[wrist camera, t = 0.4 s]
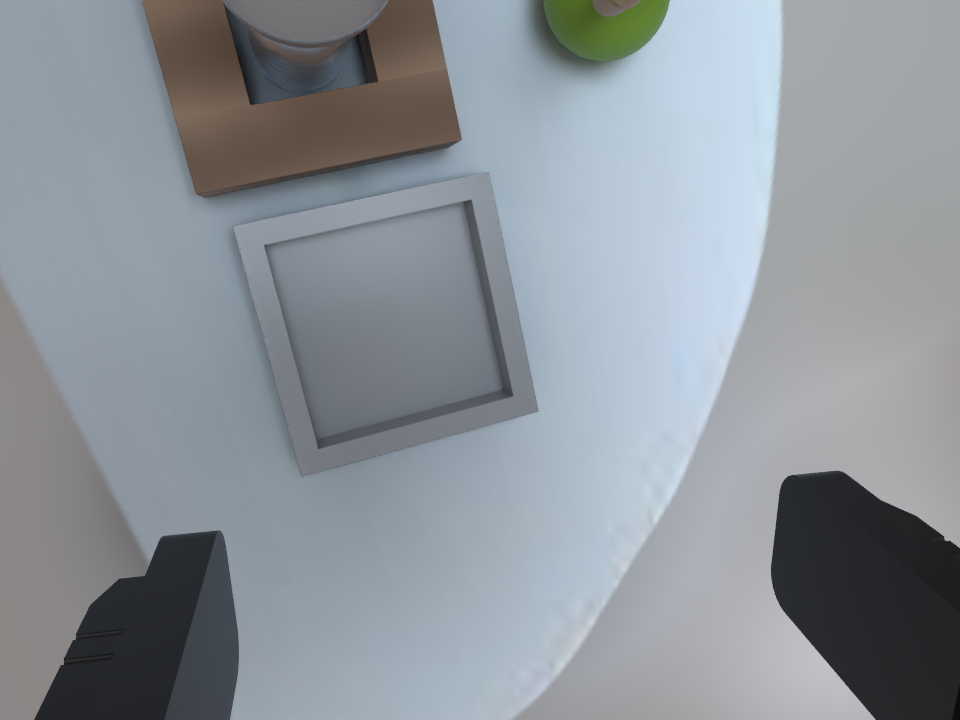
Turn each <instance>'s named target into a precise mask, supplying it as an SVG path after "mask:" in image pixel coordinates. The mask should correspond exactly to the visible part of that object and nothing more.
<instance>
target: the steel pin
mask: <svg viewBox="0 0 960 720" xmlns="http://www.w3.org/2000/svg"><path fill="white" fill-rule="evenodd" d="M221 1H222V2H223V3H224V5H225V6H226V7H227V8H228V10H229V11H230V12H231V13H232V14H233V15H234V16H235V17H236V18H237V19H238V20H239V21H241V22H242V23H243V24H244V25H246V28H247V32H248V37H249V42H250V46H251V51H252V54H253V57H254V60H255V62H256V64H257V66H258V67H259V69H260V70H261V72H262V73H263V74H264V75H265V76H266V77H267V78H268V79H269V80H270V81H272V82H273V83H274V84H276V85H278V86H279V87H282V88H284V89H287V90H290V91H295V92H308V91H313V90H317V89H319V88H321V87H323V86H325V85H326V84H328V83H329V82H330V81H331V80H332V79H333V78H334V77H335V76H336V75H337V73H338V72H339V70H340V68H341V66H342V63H343V60H344V57H345V54H346V50H347V47H348V43H349V40H350V39H351V38H352V37H354V36H356V35H358V34H359V33H361V32H362V31H363V30H365V29H366V28H367V27H368V26H370V25H371V23H372V22H373V21H374V20H375V19H376V18H377V17H378V16H379V14H380V13H381V12H382V10H383V9H384V7H385V6H386V4H387V2H388V0H221Z"/></svg>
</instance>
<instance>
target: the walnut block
mask: <svg viewBox="0 0 960 720" xmlns="http://www.w3.org/2000/svg"><path fill="white" fill-rule="evenodd" d="M142 3H143V6H144V10H145V13H146V17H147V20H148V24H149V28H150V31H151V35H152V38H153V42H154V45H155V49H156V53H157V56H158V60H159V63H160V67H161V70H162V74H163V78H164V81H165V85H166V88H167V92H168V95H169V99H170V102H171V106H172V110H173V113H174V117H175V120H176V124H177V127H178V131H179V135H180V138H181V142H182V145H183V149H184V152H185V156H186V160H187V163H188V167H189V170H190V174H191V177H192V181H193V185H194V188H195V192H196V194H197V195H200V196H202V197H204V198H205V197H210V196H215V195H219V194H224V193H229V192H234V191H239V190H244V189H249V188H253V187H258V186H263V185H268V184H273V183H278V182H283V181H288V180H292V179H297V178H302V177H307V176H312V175H317V174H322V173H327V172H331V171H336V170H341V169H346V168H351V167H356V166H361V165H366V164H370V163H375V162H380V161H385V160H390V159H395V158H400V157H404V156H409V155H414V154H419V153H424V152H429V151H434V150H439V149H443V148H448V147H450V146H452V145H454V144H455V143H457V142H459V141H460V140H462V138H461V134H460V129H459V124H458V119H457V115H456V110H455V105H454V101H453V96H452V91H451V86H450V82H449V77H448V72H447V68H446V63H445V58H444V53H443V49H442V44H441V39H440V34H439V30H438V25H437V20H436V16H435V11H434V6H433V1H432V0H388V2H387V4H386V6H385V7H384V9H383V10H382V12H381V13H380V14H379V16H378V17H377V18H376V19H375V20H374V21H373V22H372V23H371V25H370V26H368V27H367V28H366V29H365V30H363V31H362V32H361V33H359V34H358V38H359V43H360V47H361V51H362V56H363V60H364V64H365V69H366V73H367V77H368V82H369V83H368V84H363V85H357V86H352V87H347V88H341V89H336V90H330V91H325V92H320V93H314V94H309V95H304V96H298V97H293V98H287V99H282V100H277V101H271V102H266V103H261V104H255V105H251V104H250V100H249V96H248V93H247V89H246V85H245V81H244V77H243V73H242V70H241V66H240V62H239V58H238V54H237V50H236V47H235V43H234V39H233V35H232V31H231V27H230V24H229V20H228V16H227V12H226V8H225V5H224V3H223V2H222V1H221V0H142Z"/></svg>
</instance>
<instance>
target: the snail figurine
mask: <svg viewBox="0 0 960 720" xmlns="http://www.w3.org/2000/svg"><path fill="white" fill-rule="evenodd" d="M669 1H670V0H543V5H544V11H545V15H546V19H547V22H548V24H549V26H550V29H551V30H552V32H553V34H554V35H555V37H556V38H557V39H558V41H559V42H560V43H561V44H562V45H563V46H564V47H565V48H567V49H568V50H569V51H571V52H572V53H574V54H576V55H577V56H580V57H582V58H585V59H588V60H593V61H613V60H617V59H621V58H624V57H626V56H629V55H631V54H633V53H634V52H636V51H638V50H639V49H640V48H642V47H643V46H644V45H645V44H646V43H647V42H648V41H650V39H651V38H652V37H653V36H654V35H655V33H656V32H657V31H658V29H659V27H660V26H661V24H662V22H663V20H664V18H665V15H666V13H667V10H668V6H669Z"/></svg>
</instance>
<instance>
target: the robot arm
mask: <svg viewBox="0 0 960 720" xmlns="http://www.w3.org/2000/svg"><path fill="white" fill-rule="evenodd" d="M771 578H772V584H773V589H774V592H775V595H776V598H777V600H778V602H779V604H780V606H781V608H782V609H783V611H784V612H785V613H786V614H787V616H788V617H789V618H790V619H791V620H792V621H793V623H794V624H795V625H796V626H797V627H798V629H799V630H800V631H801V632H802V633H803V634H804V636H805V637H806V638H807V639H808V640H809V642H810V643H811V644H812V645H813V646H814V647H815V649H816V650H817V651H818V652H819V653H820V654H821V656H822V657H823V658H824V659H825V660H826V661H827V663H828V664H829V665H830V666H831V667H832V668H833V670H834V671H835V672H836V673H837V674H838V676H839V677H840V678H841V679H842V680H843V681H844V682H845V684H846V685H847V686H848V687H849V689H850V690H851V691H852V692H853V693H854V694H855V696H856V697H857V698H858V699H859V700H860V701H861V703H862V704H863V705H864V706H865V707H866V709H867V710H868V711H869V712H870V713H871V714H872V716H873V717H874V718H875V719H876V720H960V548H959V547H957V546H956V545H955V544H953V543H952V542H951V541H945V540H944V536H943V535H941V534H940V533H939V532H937V531H936V530H934V529H933V528H932V527H930V526H929V525H928V524H926V523H925V522H923V521H922V520H921V519H919V518H918V517H917V516H915V515H913V514H910V513H908V512H906V511H904V510H901V509H899V508H897V507H895V506H892V505H890V504H888V503H886V502H883V501H881V500H880V499H878V498H877V497H876V496H874V495H873V494H872V493H870V492H869V491H868V490H866V489H865V488H864V487H863V486H861V485H860V484H859V483H857V482H856V481H855V480H853V479H852V478H851V477H849V476H848V475H847V474H845V473H843V472H841V471H830V472H819V473H809V474H799V475H791V476H788V477H787V478H786V479H785V480H784V481H783V483H782V486H781V489H780V494H779V503H778V512H777V520H776V530H775V537H774V546H773V556H772V564H771ZM238 663H239V643H238V630H237V622H236V615H235V608H234V601H233V594H232V586H231V579H230V572H229V565H228V558H227V551H226V545H225V540H224V536H223V534H222V532H221V531H220V530H219V531H209V532H199V533H189V534H179V535H169V536H163V537H161V539H160V540H159V543H158V545H157V548H156V550H155V553H154V555H153V557H152V560H151V562H150V565H149V567H148V570H147V572H146V575H145V576H141V577H133V578H123V579H119V580H117V582H116V583H114V584H113V585H112V586H111V587H110V588H109V589H108V590H106V592H104V593H103V594H102V595H101V596H100V597H99V598H98V599H97V600H95V601H94V602H93V603H92V604H91V605H90V607H89V609H88V611H87V613H86V615H85V617H84V619H83V621H82V623H81V625H80V627H79V629H78V631H77V633H76V640H73V641H72V644H71V645H70V648H69V650H68V652H67V654H66V656H65V658H64V665H61V666H60V668H59V670H58V672H57V674H56V676H55V678H54V680H53V683H52V684H51V686H50V689H49V691H48V693H47V695H46V697H45V699H44V701H43V703H42V705H41V707H40V709H39V711H38V713H37V715H36V717H35V719H34V720H230V716H231V710H232V705H233V699H234V693H235V688H236V682H237V676H238Z"/></svg>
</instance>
